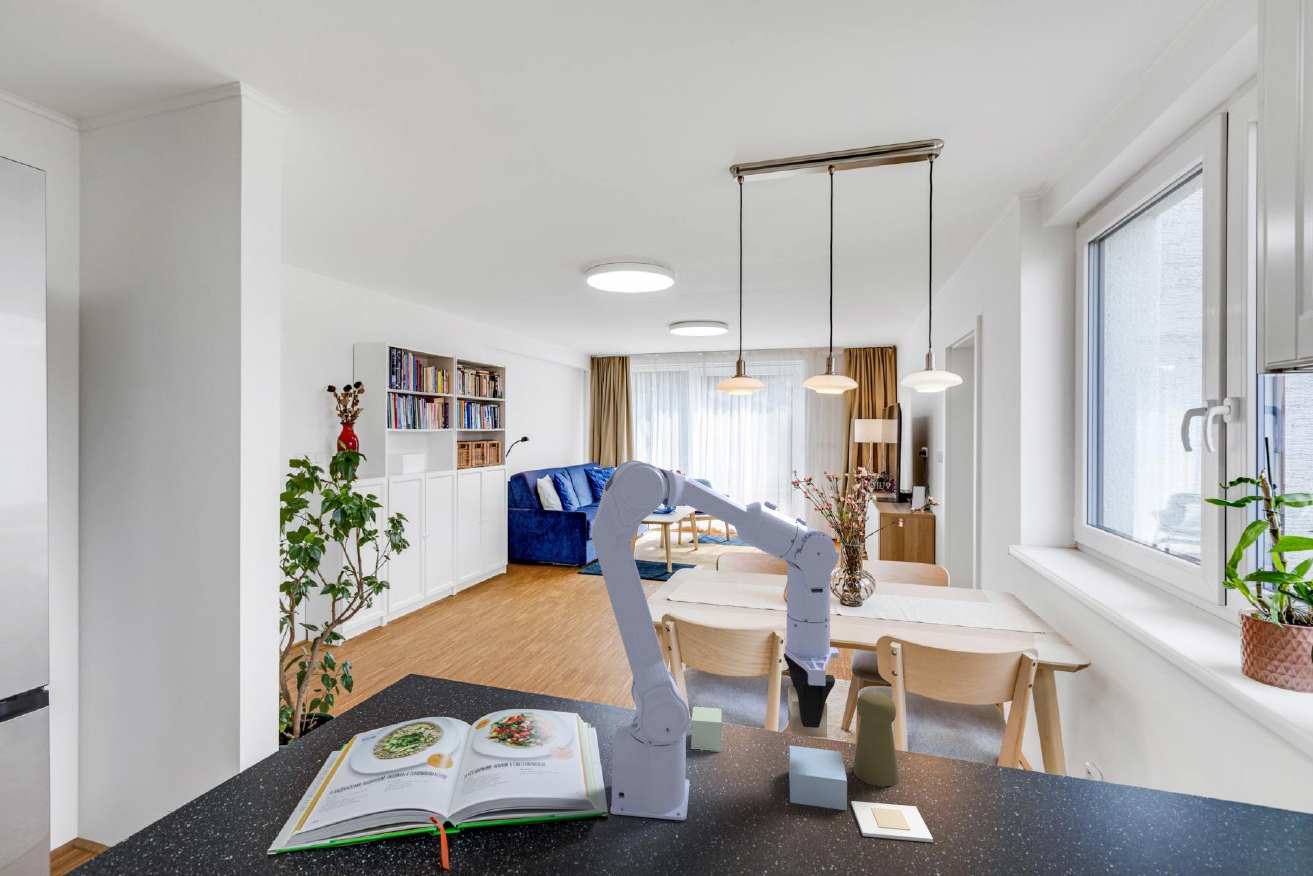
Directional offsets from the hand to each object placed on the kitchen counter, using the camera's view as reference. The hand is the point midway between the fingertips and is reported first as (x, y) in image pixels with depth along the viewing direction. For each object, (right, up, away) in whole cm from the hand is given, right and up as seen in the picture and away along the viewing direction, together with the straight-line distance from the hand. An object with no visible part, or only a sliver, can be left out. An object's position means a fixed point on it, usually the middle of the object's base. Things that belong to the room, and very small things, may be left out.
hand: (807, 716), depth 77 cm
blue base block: (+1, -10, -1) cm, 10 cm away
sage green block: (-13, -10, +11) cm, 19 cm away
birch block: (0, -2, 0) cm, 2 cm away
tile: (+8, -10, -7) cm, 15 cm away
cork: (+11, -10, +3) cm, 15 cm away
